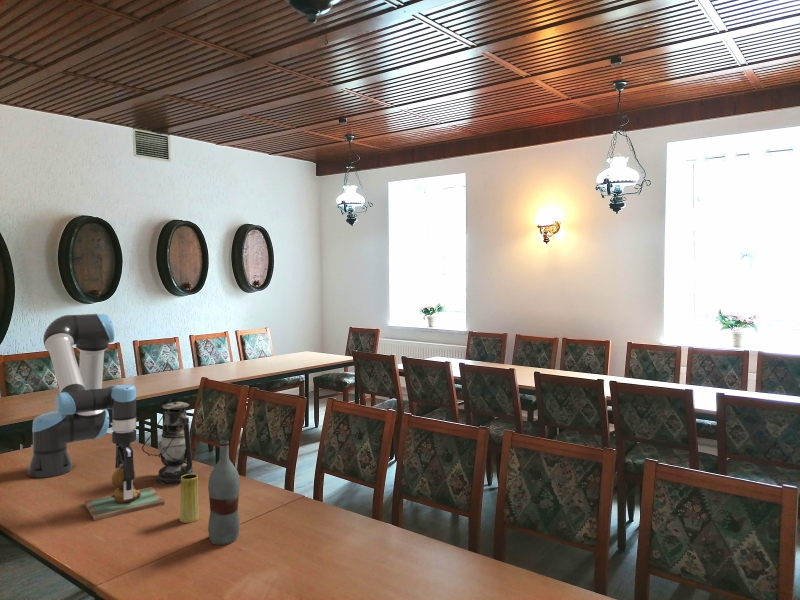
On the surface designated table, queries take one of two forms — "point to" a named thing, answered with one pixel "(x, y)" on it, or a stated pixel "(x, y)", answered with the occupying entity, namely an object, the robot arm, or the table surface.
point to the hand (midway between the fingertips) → (124, 494)
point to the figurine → (122, 487)
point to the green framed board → (111, 508)
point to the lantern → (174, 444)
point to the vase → (189, 498)
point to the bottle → (224, 500)
